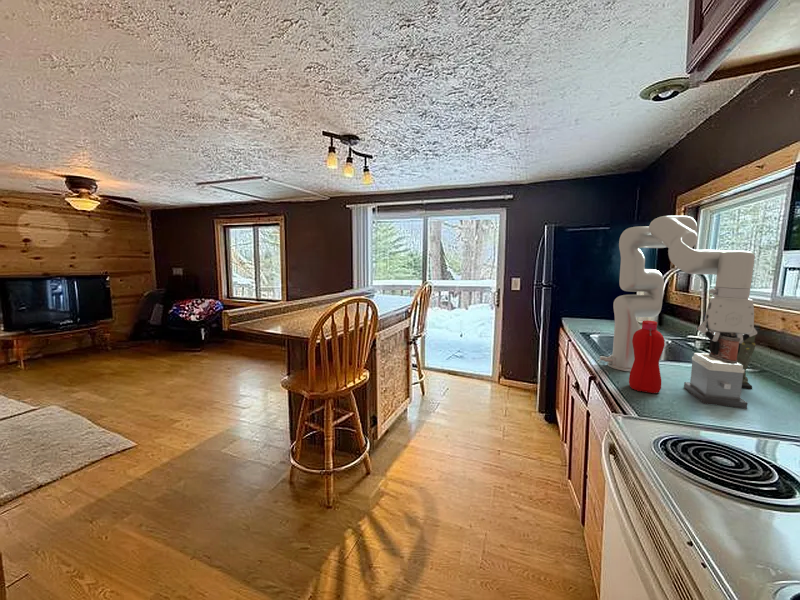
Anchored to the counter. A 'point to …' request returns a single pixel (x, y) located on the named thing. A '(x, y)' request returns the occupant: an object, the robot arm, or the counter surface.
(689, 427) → the counter surface
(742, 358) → the mechanical leg
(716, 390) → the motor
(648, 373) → the water bottle
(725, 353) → the lighter
